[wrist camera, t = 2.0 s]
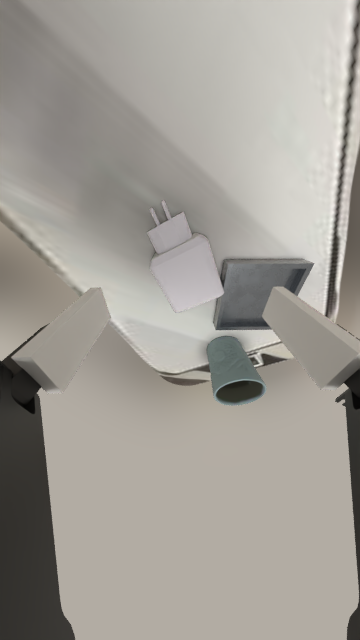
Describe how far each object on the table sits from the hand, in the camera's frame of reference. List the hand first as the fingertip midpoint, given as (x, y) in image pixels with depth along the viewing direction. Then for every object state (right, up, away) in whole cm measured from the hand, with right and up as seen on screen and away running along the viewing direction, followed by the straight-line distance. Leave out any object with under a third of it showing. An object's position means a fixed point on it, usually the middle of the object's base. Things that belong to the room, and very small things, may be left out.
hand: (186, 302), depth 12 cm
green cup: (+11, -9, +27) cm, 30 cm away
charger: (0, +9, +13) cm, 16 cm away
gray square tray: (+14, +3, +17) cm, 22 cm away
